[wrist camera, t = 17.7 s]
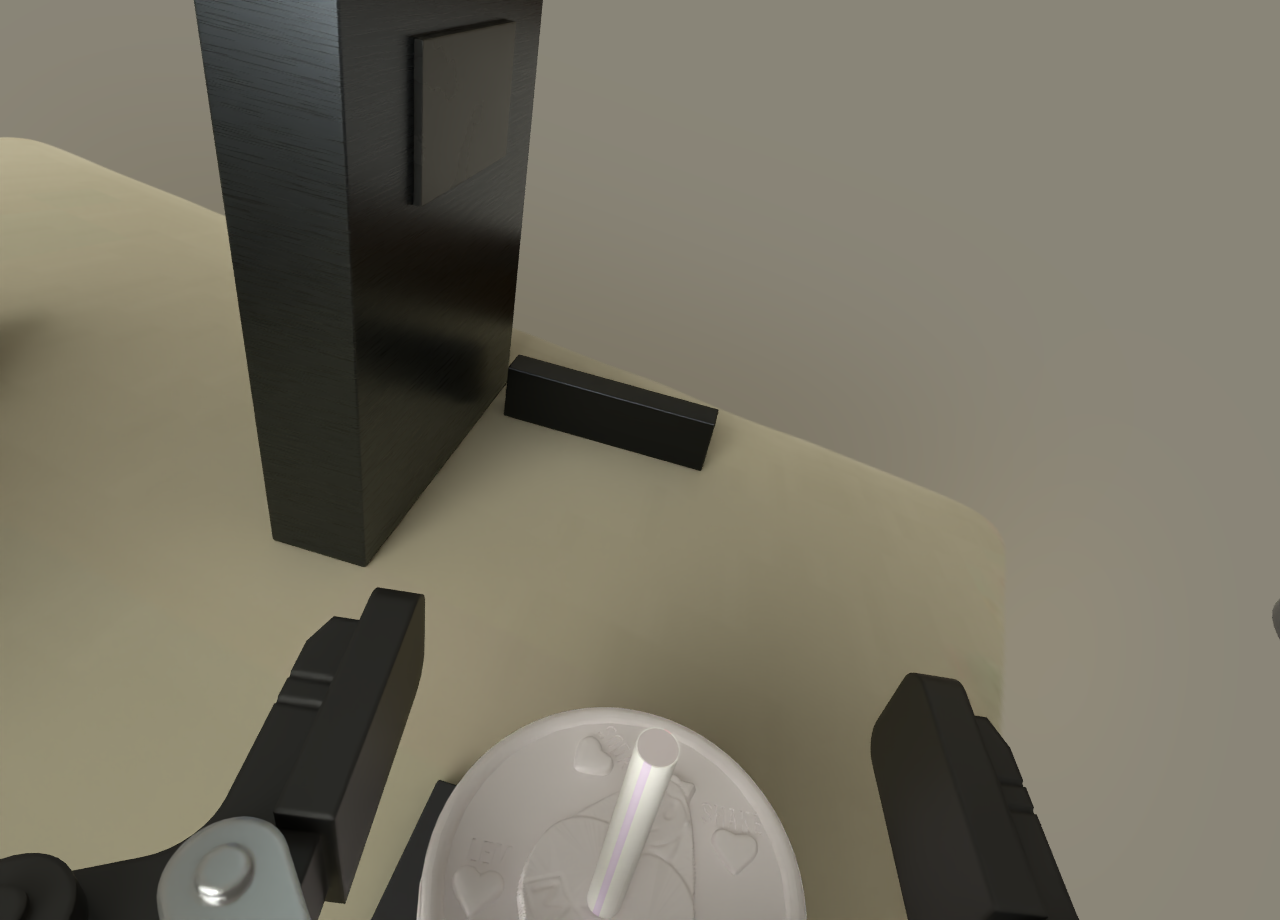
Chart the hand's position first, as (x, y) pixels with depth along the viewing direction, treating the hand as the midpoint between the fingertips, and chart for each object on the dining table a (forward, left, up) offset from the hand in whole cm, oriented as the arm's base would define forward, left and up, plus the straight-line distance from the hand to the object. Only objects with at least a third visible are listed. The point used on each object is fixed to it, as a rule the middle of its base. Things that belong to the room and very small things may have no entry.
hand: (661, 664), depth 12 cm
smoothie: (0, +2, -13) cm, 13 cm away
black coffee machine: (+8, -19, -13) cm, 24 cm away
